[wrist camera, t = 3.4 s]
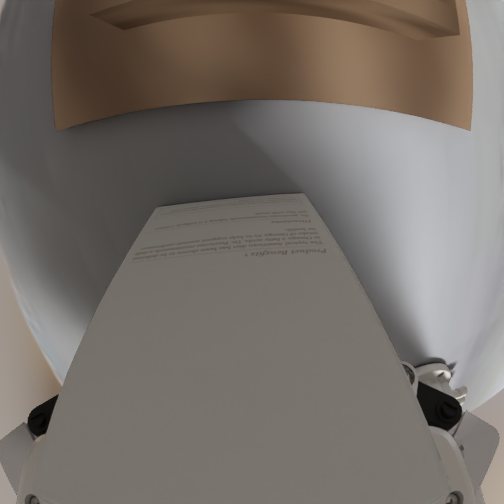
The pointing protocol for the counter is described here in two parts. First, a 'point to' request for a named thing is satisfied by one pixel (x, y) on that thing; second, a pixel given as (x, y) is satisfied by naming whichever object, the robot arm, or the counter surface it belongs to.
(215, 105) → the counter surface
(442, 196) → the counter surface
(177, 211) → the supplement box
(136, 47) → the walnut holder
